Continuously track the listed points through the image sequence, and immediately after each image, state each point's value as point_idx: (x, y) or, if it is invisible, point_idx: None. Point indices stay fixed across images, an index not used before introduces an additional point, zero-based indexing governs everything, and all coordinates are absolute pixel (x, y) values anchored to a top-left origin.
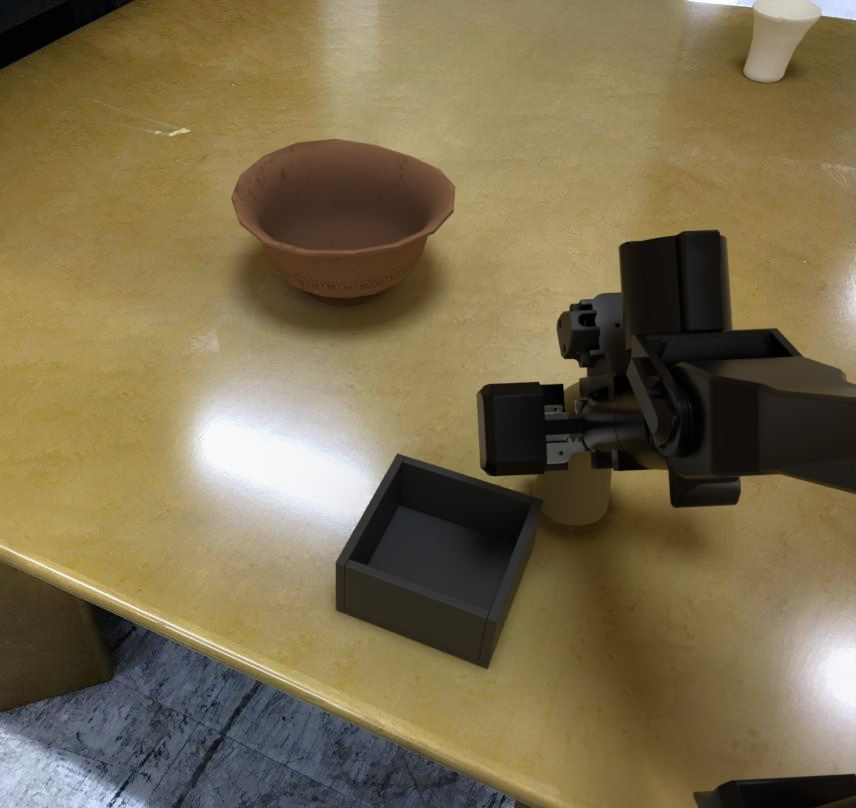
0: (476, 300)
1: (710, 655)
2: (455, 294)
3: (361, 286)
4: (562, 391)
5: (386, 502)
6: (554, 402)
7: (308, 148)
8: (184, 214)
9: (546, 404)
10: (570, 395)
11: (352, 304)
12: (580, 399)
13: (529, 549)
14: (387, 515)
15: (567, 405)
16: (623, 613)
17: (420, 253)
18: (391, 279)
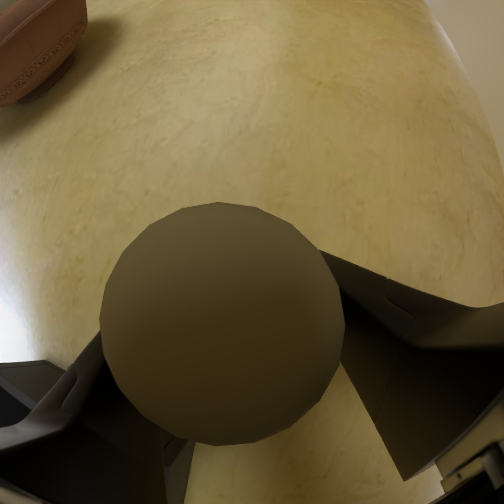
0: (145, 45)
1: (394, 492)
2: (127, 46)
3: (15, 86)
4: (5, 479)
5: (11, 420)
6: (19, 492)
7: (11, 6)
8: None
9: (7, 488)
10: (110, 328)
11: (41, 94)
12: (143, 356)
13: (183, 470)
14: (29, 411)
15: (111, 371)
16: (314, 484)
17: (72, 28)
18: (42, 64)
